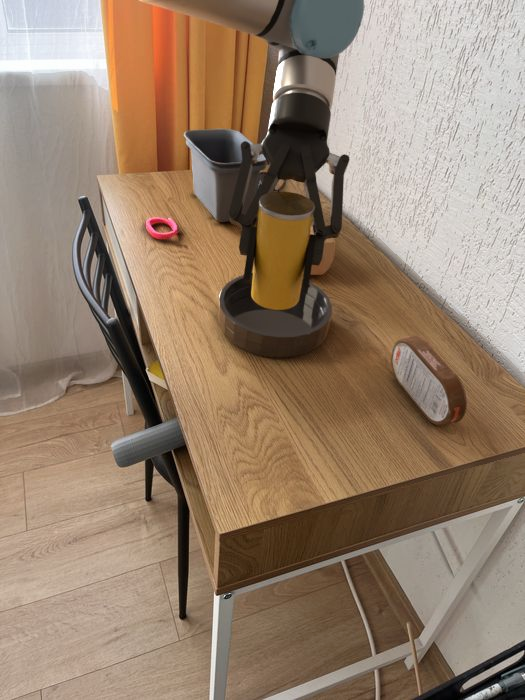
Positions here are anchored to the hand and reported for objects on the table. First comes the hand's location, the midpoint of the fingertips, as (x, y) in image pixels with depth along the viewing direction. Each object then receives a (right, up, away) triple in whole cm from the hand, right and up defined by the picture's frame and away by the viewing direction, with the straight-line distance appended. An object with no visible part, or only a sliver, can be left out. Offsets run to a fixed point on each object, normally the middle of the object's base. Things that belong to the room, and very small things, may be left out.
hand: (275, 285), depth 64 cm
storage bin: (-10, +26, +59) cm, 65 cm away
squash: (+5, +11, +43) cm, 44 cm away
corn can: (0, -1, +5) cm, 5 cm away
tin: (+21, -15, +14) cm, 30 cm away
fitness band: (-23, +17, +47) cm, 55 cm away
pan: (0, -3, +25) cm, 25 cm away
